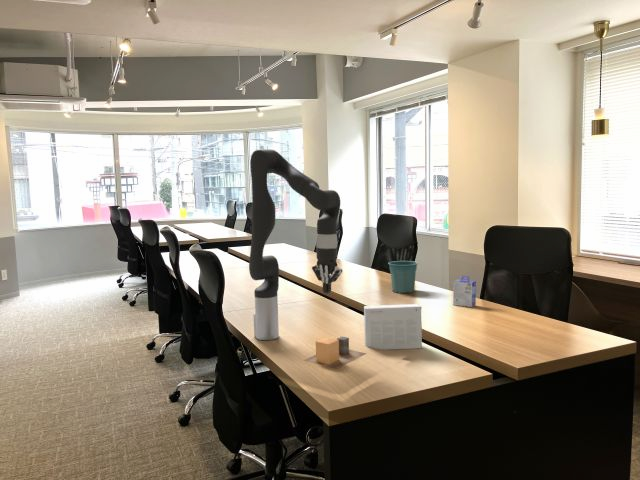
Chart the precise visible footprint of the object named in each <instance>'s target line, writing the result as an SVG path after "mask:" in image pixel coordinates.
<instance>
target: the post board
mask: <svg viewBox="0 0 640 480" xmlns="http://www.w3.org/2000/svg"><path fill="white" fill-rule="evenodd" d="M336 339H337V340H339V360H337V361H335V362H333V363H331V364H325V363H322V362H318V361H316V354H315V355H313V356H310V357H308V358H306V359H304V361H305V362H310V363H313V364H317V365H319V366H324V367H328V368H331V369H335V370H336V369H337V370H338V369H339V368H342V367H343V366H345V365H347V364H349V363H351V362H353V361H354V360H357V359H358V358H361V357H362V356H364V355H367V353H366V352H363V351H358V350H354V349H350V340H349V339H350V338H349V337H348V336H347V337H346V336H340V337H338V338H336Z"/></svg>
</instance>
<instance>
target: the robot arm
mask: <svg viewBox="0 0 640 480" xmlns="http://www.w3.org/2000/svg"><path fill="white" fill-rule="evenodd" d="M249 165H250V166H249V167H250V176H251V177H250V179H251V241H250V242H251V244H250V251H249V252H250V253H249V260H248V261H249V262H248V263H249V265H248V269H249V274H250V277H251V279H252V280H254V281H263V283H261V284H260V285H259V286H257V287H256V288H255V289H254V291H253V292H254V294H253V295H254V310H255V311H254V314H253V337H254V338H256V339H257V340H260V341H273V340H276V339H278V338H279V337H280V332H279V327H280V326H279V305H278V304H279V303H278V300H279V299H278V291H279V284H280V283H279V278H280V267H279V262H278V259H277V258H276V257H275V256H274V255H264V248H265V245H266V244H267V243H266V242H267V241H268V240H269V238H270V236H271V234H272V232H273V230H274V227H275V226H276V211H277V210H276V205H275V203H274V200H273V198H272V195H271V193H270V191H269V189H268V174H275V175H277V176H279V177H282V178H283V179H284V180H285V181H286V182H287V183H288V186H289V187H290V188H291V189H292V190H293V191H294V192H296V193H298V194H299V195H300V196H301V197H303V198H304V199H306V201H307V202H308V203H309V204H310V205H311V206H312V207H313V208H315V209H316V210H317V211H321V212H322V215H321V216H320V217H319V218H318V219H317V221H316V222H317V223H316V242H315V243H316V246H315V248H316V259H317V261H316V264H315V265H314V266H313V265H312V266H311V269H312V272H313V273H314V275H315V277H316V278H317V280H318V281H319V282H321V284H322V291H323V294H331V292H332V284H333V283H334V282H337V280H338V278H339V277H340V276H341V274H342V273H343V269H341V268H339V266H338V263H337V260H338V235H337V230H338V229H337V228H338V227H337V221H338V218H339V213H340V208H341V197H340V195H339V193H338V192H337V191H336V190H333V189H329V190H322V188H321V189H320V185H319V184H318V182H317V181H316V180H314V179H312V178H311V177H309V176H308V175H306V174H304V173H303V172H301V171H300V170H298V169H297V168H296V167H294V166H293V164H291V163H290V162H289V161H288V160H287V159H286V158H285V157H283V155H281V154H280V153H279V152H278V151H276V150H275V149H270V148H269V149H268V148H266V149H265V148H263V149H262V148H260V149H255V150H254V151H253V152H252V154H251V156H250V162H249Z"/></svg>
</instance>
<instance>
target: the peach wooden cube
mask: <svg viewBox="0 0 640 480" xmlns="http://www.w3.org/2000/svg"><path fill="white" fill-rule="evenodd" d="M315 355H316V361H318V362H322V363H325V364H331V363H333V362H335V361H337V360H339V340H337V338H331V337H327V336H325V337H323V338H320V339H318V340H316V341H315Z"/></svg>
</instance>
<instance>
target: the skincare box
mask: <svg viewBox="0 0 640 480" xmlns="http://www.w3.org/2000/svg"><path fill="white" fill-rule="evenodd" d="M363 318H364V319H363V320H364V322H363V323H364V347H367V348H372V349H377V350H380V351H381V350H382V351H386V350H409V349H412V350H413V349H416V350H417V349H423V341H422V339H423V336H422V335H423V334H422V333H423V331H422V330H423V328H422V327H423V326H422V324H423V323H422V305H420V303H414V304H413V303H411V304H406V303H405V304H382V305H364V306H363Z"/></svg>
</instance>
